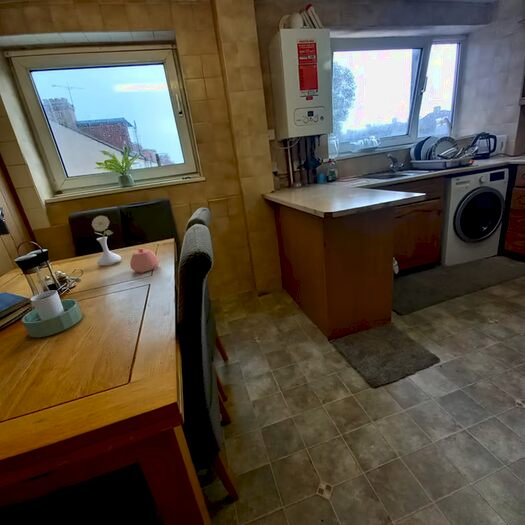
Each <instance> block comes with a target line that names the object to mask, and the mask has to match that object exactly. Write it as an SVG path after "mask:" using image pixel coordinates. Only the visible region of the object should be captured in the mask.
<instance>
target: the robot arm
mask: <svg viewBox="0 0 525 525" xmlns="http://www.w3.org/2000/svg"><path fill="white" fill-rule="evenodd" d="M3 209H4V208H3V207H2V206H0V237H1V236H8V235H10V230H9V228H8V226H7V224H6V218H5V214H4V210H3Z"/></svg>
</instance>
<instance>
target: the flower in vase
mask: <svg viewBox="0 0 525 525" xmlns="http://www.w3.org/2000/svg"><path fill="white" fill-rule="evenodd" d="M110 223H111V222H110V220H109V218H108V216H105V215H98V216H96V217H95V218H93V220H92V221H91V227H92V228H93V230H94V231H96V232H95V234H97V235H101V237H97V238H96V241H98V243H99V244H100V245H101V248H102V254H101V255H100V256H99V258H98V260H97V261H96V265H98V266H104V267H105V266H111V265H114V264H116V263H118V262H121V260H122V257H121V256H120V255H119V254H116V253H114V252H112V251H110V250H109V248H108V244H107V240H108V236H111V235H112V234H114V232H113V231H111V230H110V229H108V228H109V225H110ZM99 232H103V234H102V233H99ZM105 235H107V236H105Z"/></svg>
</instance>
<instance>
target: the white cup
mask: <svg viewBox="0 0 525 525" xmlns="http://www.w3.org/2000/svg"><path fill="white" fill-rule="evenodd" d="M60 300H61V298H60V295H59V293H58V291H57V290H48V291H43V292H41V293H38V294H35V295H34V296H32V297H31V298H30V301H31V303H32V305H33V307H34V309H36V311H37V313H38V315H39V316H40V318H41V320H46V319H50V318H52V317H55V316H58V315H60V314H62V313H64V310H63V307H62V304H61V301H60Z"/></svg>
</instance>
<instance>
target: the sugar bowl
mask: <svg viewBox="0 0 525 525" xmlns="http://www.w3.org/2000/svg"><path fill="white" fill-rule="evenodd" d="M129 262H130V269H131V270H132V271H133V272H135V273H140V274H144V273H146V272H149V271H152V270H156V268H157V267H158V266H159V265H160V260H159V258H158V256H157V255H156V253H154V252H153V251H152V250H151V249H149V248H144V247H139V248H138V249H137V250H136V251H134V252H133V253H132V255H131V258H130V261H129Z"/></svg>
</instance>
